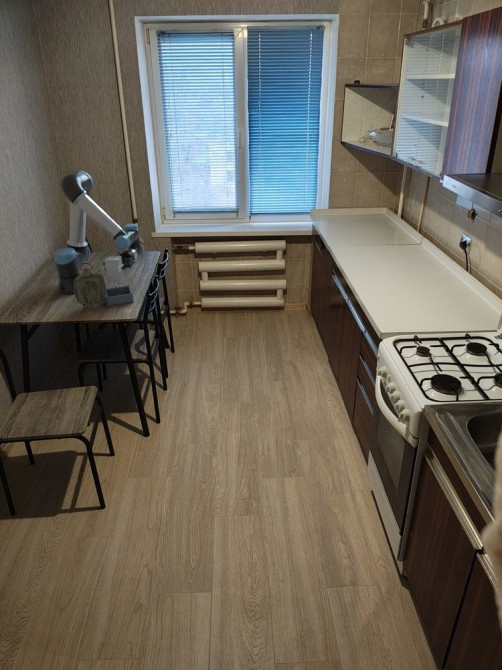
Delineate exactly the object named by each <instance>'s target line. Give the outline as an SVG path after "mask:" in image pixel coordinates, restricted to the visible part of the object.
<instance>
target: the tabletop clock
mask: <svg viewBox="0 0 502 670" xmlns="http://www.w3.org/2000/svg"><path fill="white" fill-rule="evenodd" d="M80 265H81V266H82V265H89V266H90V268H87V267H85V268H84V269H83V268H80V267H81V266H80ZM80 265H79V266H78V267H79V271H83V272H82V273H80V275H79V276H77V278H76V279H75V280H74V283H73V287H74V296H75V300H76V301H77V303H78V304H80V305H82V306H83V308H84V307H86V306H87V305H90V306H91V307H90V311H91V310H92V311H93V310H94V309H95V307H94V306H93V305H97V304H101V303H102V306H104V307H105V306H106V305H107V302H103V301H104V300H105V298H106V289H107V287H106V282H105V279H104V276H103V275H102V274H100V273H92V272H91V270H92V269H93V264H91V263H90V262H85V263H81V264H80Z"/></svg>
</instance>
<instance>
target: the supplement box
mask: <svg viewBox="0 0 502 670" xmlns="http://www.w3.org/2000/svg"><path fill="white" fill-rule="evenodd" d="M104 262H105V267H106V271H105V272H106V277H107V283H108V284H118V283H119V284H120V283H122V282H123V281H124V279H125V272H124V271H125V270H123V271H121V272H120V273H118V270H117V268H118V267H119V266H121V265H122V258H121V256H120V255H111V256H110V255H109V256H106V258H105V259H104Z"/></svg>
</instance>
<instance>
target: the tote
mask: <svg viewBox="0 0 502 670" xmlns="http://www.w3.org/2000/svg"><path fill="white" fill-rule="evenodd" d="M105 298H106V305H107V307H114V306H121V305H127V304H133V303H134V302H135V301H134V295H133V291H132V288H131V286H130V285H124V286H116V287H109V288H106V296H105Z"/></svg>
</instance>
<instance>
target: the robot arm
mask: <svg viewBox="0 0 502 670" xmlns="http://www.w3.org/2000/svg"><path fill="white" fill-rule="evenodd" d="M93 187H94V181H93V178H92V176H91V175H90V174H89V173H88V172H86V171H84V170H75V171H73V172H72V173H68V174H65V175H64V176H63V177H62V178H61V181H60V189H61V192H62V193H63V195H64V196H65V197H66V199H67V200H68V201H70V202H69V203H70V205H69V206H70V208H69V239H67V240H66V247H62V248H59V249H57V250H56V251H54V253H53V257H54V258H53V259H54V263H55V267H56V271H57V275H58V285H57V291H58V293H59V294H62V295H75V293H74V287H73V283H74V280H75V279H76V278H77V276H79V275H81V272H80V269H79V268H80V267H81V266H82V265H80V264H81V263H87V261H88V260H89V258H90V256H91V250H90V247H89V244H88V242H87V241H86V229H87V228H86V224H87V223H86V222H87V216H88V217H89V218H90V219H91V220H93V222H94V223H96V225H98V226H99V227H100V228H101V229H102V230H103V231H104V232H105V233H106V234H107V235H108V236H109V237H110V238H111V239H112V240H113V241H114V244H115V247H117V249H119V250H121V251H122V252H121V253H119V256H121V258H122V265H121V266H119V267H118V268H117V270H118V273H120V272H121V271H125V269H131V268H132V267H133V266H134V264H136V260H137V259H139V258H140V257H141V256H142V255H143V254H144V252H145V246H144V245H143V244H142V243H141V239H140V231H139V225H137V223H127V224H125V225H124V229H123V228H122V227H121V226H120V225H119V223H118V224H117V222H115V220H114V219H112V218H111V216H110V215H108V214H107V212H105V211H104V210H103V209H102V208H101V207H100V206H99V205H98V204H97V203H96V202H95V201H94V200H93V199H92V198H91V197H90V196H91V195H90V194H91V191H92V189H93ZM102 264H103V265H102V267H101V272H102V273H105V272H106V267H105V261H104V262H102ZM79 265H80V266H79ZM78 266H79V267H78Z"/></svg>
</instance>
